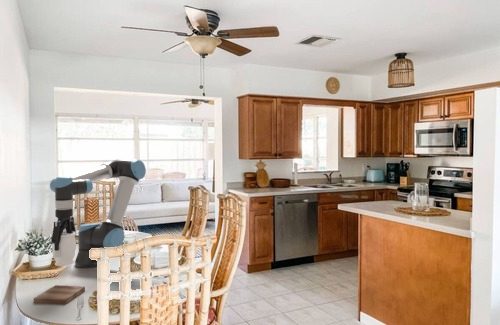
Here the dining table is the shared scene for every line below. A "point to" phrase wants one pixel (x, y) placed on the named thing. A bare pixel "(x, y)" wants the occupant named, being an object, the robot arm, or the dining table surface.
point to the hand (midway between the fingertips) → (64, 253)
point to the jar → (66, 249)
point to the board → (59, 294)
